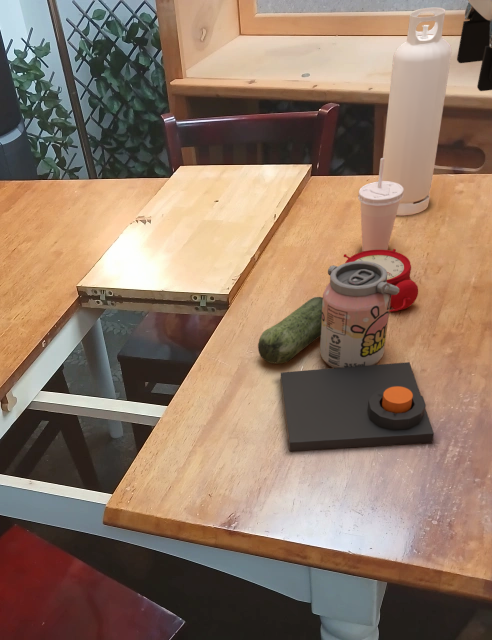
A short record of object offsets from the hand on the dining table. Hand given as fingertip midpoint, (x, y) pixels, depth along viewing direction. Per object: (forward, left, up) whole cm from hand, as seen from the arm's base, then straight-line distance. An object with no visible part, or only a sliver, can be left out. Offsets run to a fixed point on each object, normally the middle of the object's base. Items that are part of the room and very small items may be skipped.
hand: (482, 74), depth 79 cm
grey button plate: (+14, +18, -30) cm, 38 cm away
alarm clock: (+7, -7, -30) cm, 32 cm away
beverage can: (+12, +7, -30) cm, 33 cm away
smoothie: (+5, -21, -30) cm, 37 cm away
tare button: (+10, +21, -28) cm, 36 cm away
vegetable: (+19, +3, -30) cm, 36 cm away
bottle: (-2, -36, -30) cm, 47 cm away
